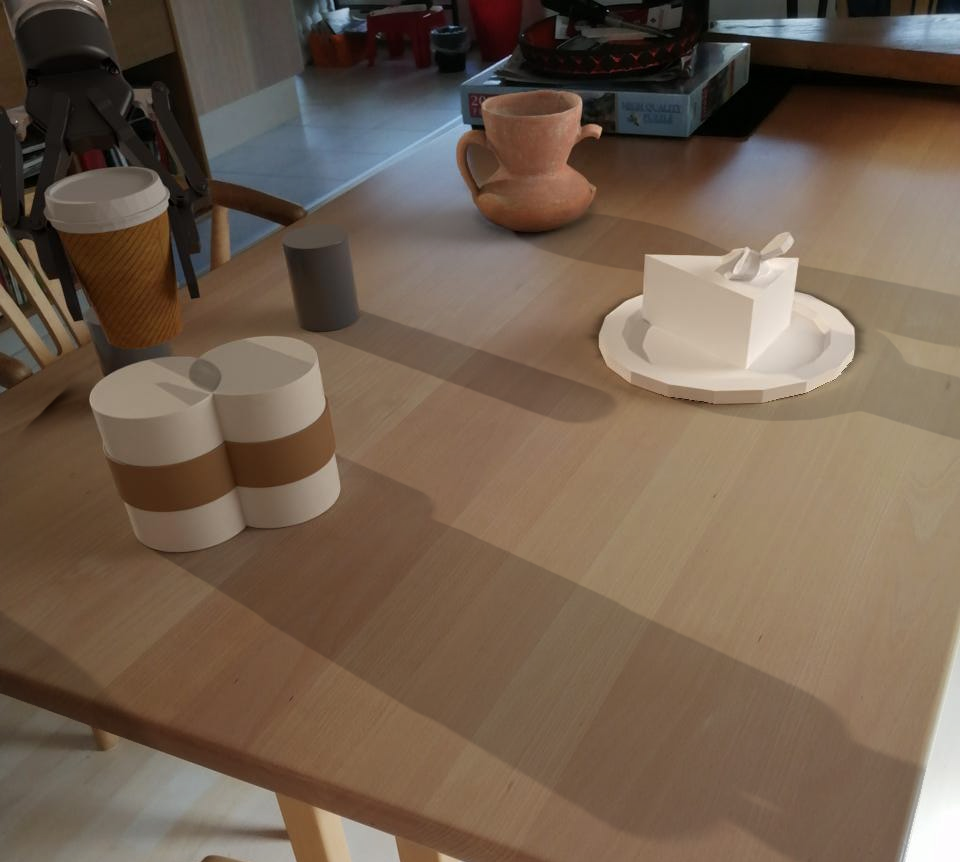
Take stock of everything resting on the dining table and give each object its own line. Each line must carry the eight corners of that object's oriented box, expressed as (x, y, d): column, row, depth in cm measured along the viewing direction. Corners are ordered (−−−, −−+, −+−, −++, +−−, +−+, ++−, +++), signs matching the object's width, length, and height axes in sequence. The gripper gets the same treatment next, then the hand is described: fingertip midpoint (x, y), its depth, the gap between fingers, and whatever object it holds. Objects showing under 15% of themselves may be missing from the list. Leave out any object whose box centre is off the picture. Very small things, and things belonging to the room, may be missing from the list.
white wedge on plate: (887, 319, 106) (910, 205, 99) (794, 428, 91) (814, 304, 84) (668, 277, 117) (674, 173, 110) (554, 369, 102) (552, 255, 95)
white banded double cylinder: (109, 549, 84) (61, 417, 76) (181, 456, 94) (145, 331, 86) (306, 563, 80) (276, 426, 73) (357, 465, 91) (336, 336, 83)
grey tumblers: (99, 398, 104) (70, 312, 98) (333, 299, 119) (321, 219, 113) (135, 420, 100) (107, 332, 94) (373, 315, 115) (361, 233, 109)
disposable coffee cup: (68, 335, 88) (17, 188, 80) (168, 299, 92) (129, 156, 84) (120, 370, 82) (70, 215, 74) (223, 330, 86) (187, 180, 78)
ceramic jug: (602, 200, 138) (603, 82, 129) (599, 240, 127) (600, 115, 118) (468, 204, 140) (460, 88, 131) (454, 244, 129) (444, 121, 120)
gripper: (199, 48, 89) (269, 296, 88) (-63, 85, 85) (8, 347, 83) (191, -15, 82) (267, 255, 81) (-95, 22, 77) (-19, 309, 76)
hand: (135, 302), depth 82 cm, fingers closed on disposable coffee cup, 9 cm apart
